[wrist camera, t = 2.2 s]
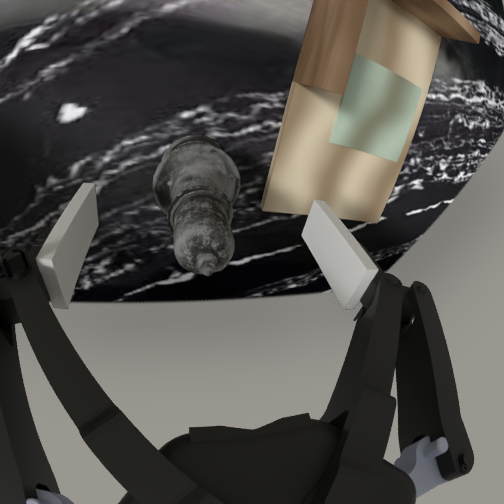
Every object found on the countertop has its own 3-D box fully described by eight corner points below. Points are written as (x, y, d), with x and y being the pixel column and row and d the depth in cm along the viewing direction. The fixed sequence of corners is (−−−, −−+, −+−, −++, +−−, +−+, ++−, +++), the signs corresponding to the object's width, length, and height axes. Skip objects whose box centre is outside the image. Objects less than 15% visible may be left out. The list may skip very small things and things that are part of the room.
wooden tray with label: (260, 206, 24) (278, 244, 20) (324, -41, 10) (363, -59, 6) (373, 218, 28) (402, 250, 24) (437, 27, 14) (480, 34, 10)
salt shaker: (247, 169, 21) (302, 271, 12) (192, 213, 23) (205, 333, 14) (198, 115, 18) (215, 179, 9) (141, 168, 19) (109, 277, 10)
